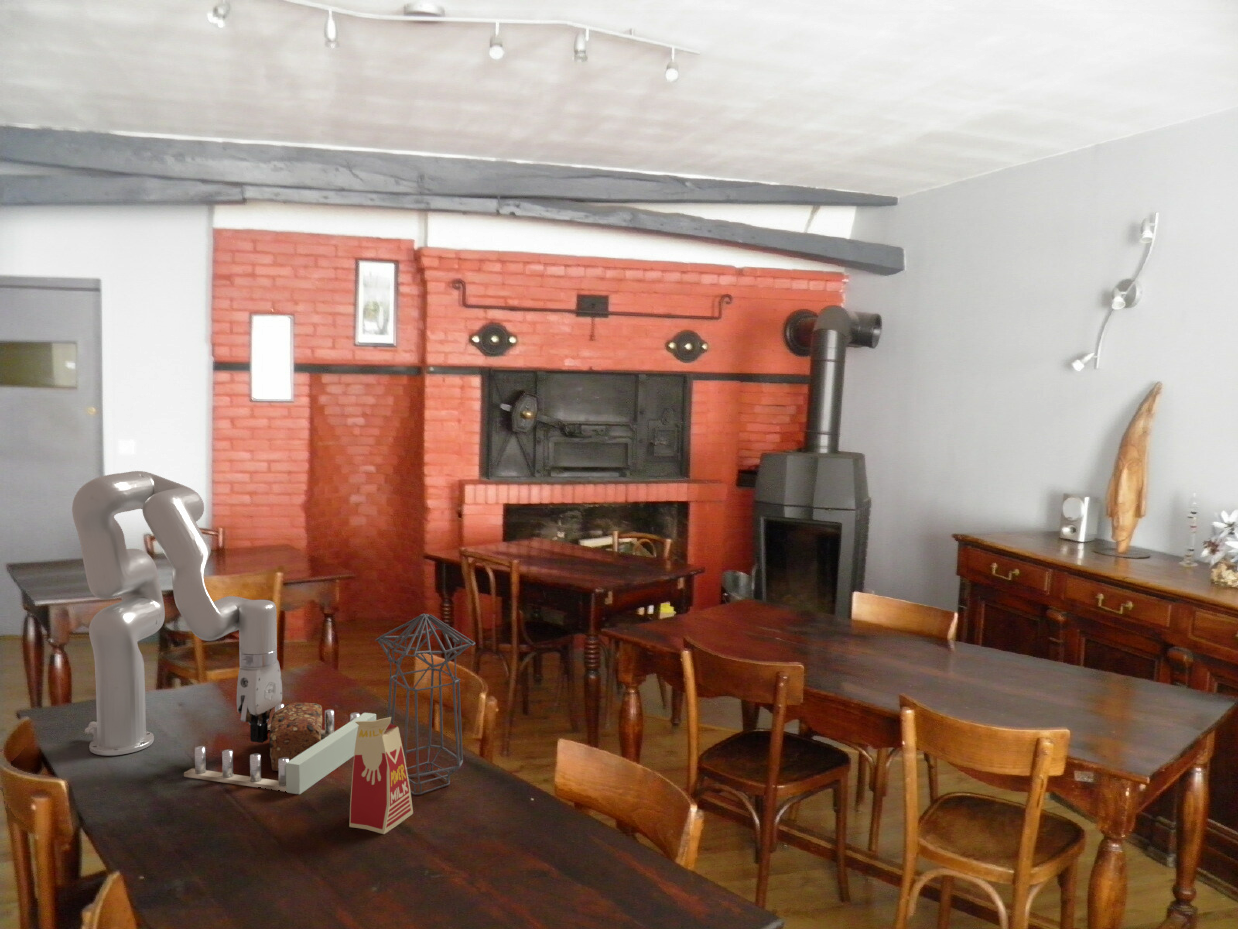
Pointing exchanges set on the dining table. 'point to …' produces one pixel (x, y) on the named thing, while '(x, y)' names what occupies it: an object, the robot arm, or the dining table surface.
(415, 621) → the geometric lantern
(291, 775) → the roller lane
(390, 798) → the milk carton
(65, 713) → the dining table surface
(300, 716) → the bread
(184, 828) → the dining table surface
